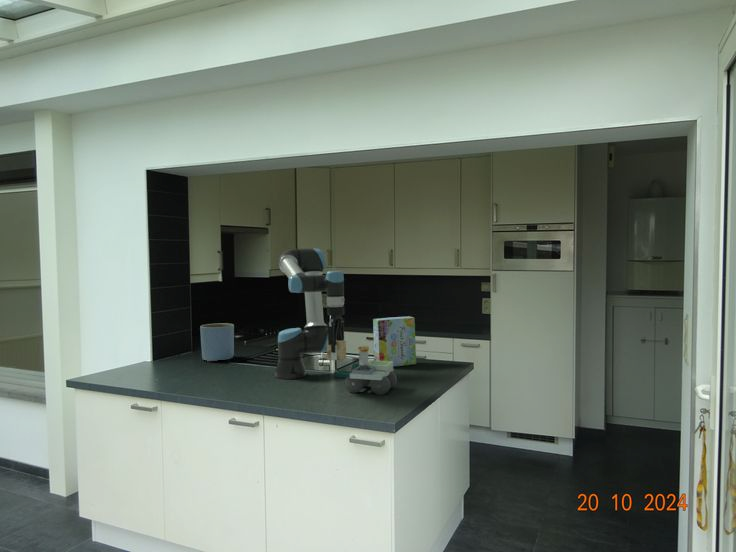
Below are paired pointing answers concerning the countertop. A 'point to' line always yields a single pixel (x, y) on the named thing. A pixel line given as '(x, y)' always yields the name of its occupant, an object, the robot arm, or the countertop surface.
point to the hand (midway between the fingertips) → (336, 358)
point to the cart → (363, 378)
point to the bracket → (345, 372)
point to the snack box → (395, 340)
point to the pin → (363, 358)
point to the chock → (338, 350)
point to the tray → (381, 365)
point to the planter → (217, 341)
